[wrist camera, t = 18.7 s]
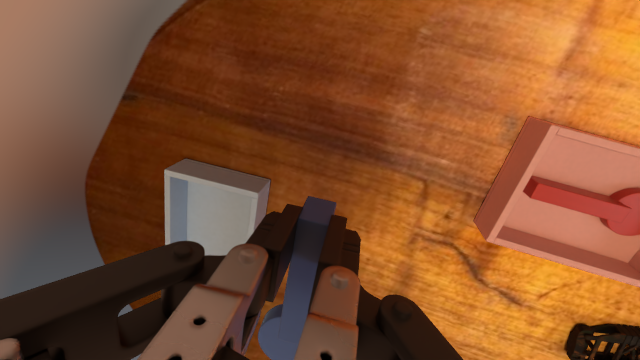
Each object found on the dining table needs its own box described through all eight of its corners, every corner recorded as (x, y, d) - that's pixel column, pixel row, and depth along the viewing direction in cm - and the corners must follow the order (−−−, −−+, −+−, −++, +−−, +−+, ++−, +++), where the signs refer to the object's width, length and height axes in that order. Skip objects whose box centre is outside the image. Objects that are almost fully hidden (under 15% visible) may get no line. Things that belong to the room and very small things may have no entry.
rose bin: (473, 221, 28) (485, 241, 25) (528, 116, 24) (551, 124, 21) (625, 266, 28) (659, 293, 24) (709, 165, 24) (761, 181, 20)
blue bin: (185, 158, 31) (164, 169, 28) (270, 179, 30) (258, 193, 27) (182, 330, 41) (166, 353, 38) (246, 349, 40) (235, 375, 37)
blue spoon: (281, 188, 14) (266, 210, 12) (364, 208, 14) (362, 233, 12) (260, 343, 19) (246, 378, 17) (323, 361, 18) (316, 398, 16)
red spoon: (510, 200, 27) (521, 212, 25) (533, 159, 25) (547, 167, 23) (635, 235, 26) (657, 250, 24) (667, 195, 24) (693, 207, 22)
